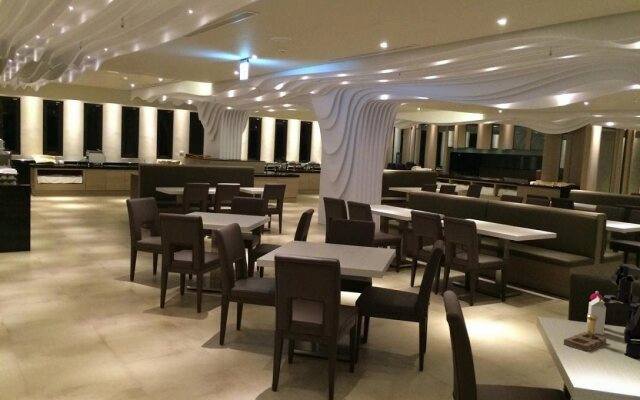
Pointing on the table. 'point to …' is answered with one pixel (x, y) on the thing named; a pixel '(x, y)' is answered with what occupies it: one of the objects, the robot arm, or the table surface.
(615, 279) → the robot arm
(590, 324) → the brass bolt
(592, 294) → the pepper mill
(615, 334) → the table surface
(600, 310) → the milk carton
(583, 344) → the template plate
